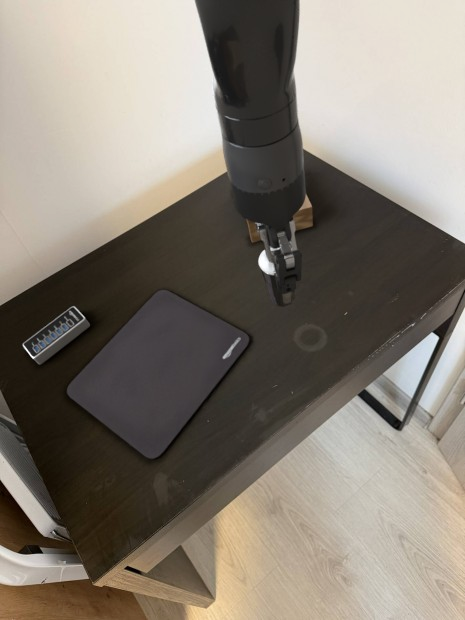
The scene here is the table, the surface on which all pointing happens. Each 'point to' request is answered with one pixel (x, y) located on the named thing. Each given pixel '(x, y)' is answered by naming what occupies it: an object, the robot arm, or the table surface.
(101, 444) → the table surface
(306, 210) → the shelf
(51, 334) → the multiport hub
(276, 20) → the robot arm
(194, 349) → the mouse pad
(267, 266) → the milkshake
